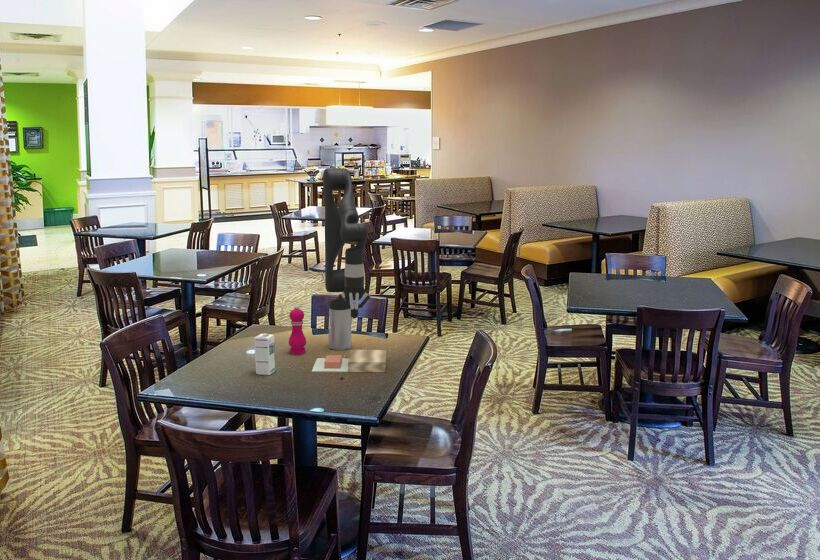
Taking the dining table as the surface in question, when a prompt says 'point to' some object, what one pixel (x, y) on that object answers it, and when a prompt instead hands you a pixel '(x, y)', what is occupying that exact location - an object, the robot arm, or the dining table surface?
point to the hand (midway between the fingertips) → (354, 318)
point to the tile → (333, 361)
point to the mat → (320, 368)
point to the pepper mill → (297, 332)
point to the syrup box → (265, 354)
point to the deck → (367, 361)
